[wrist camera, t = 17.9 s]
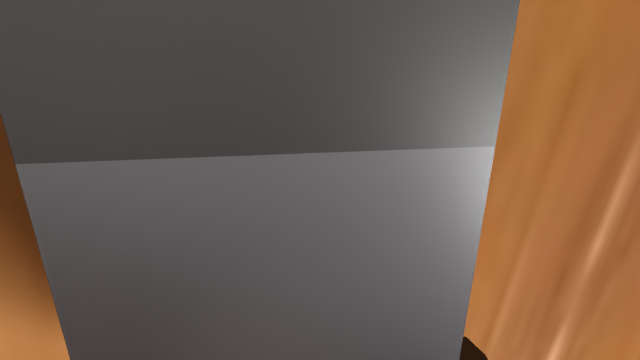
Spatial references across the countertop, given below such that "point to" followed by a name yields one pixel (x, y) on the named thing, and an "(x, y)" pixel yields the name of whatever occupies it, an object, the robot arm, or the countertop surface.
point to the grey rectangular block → (256, 170)
